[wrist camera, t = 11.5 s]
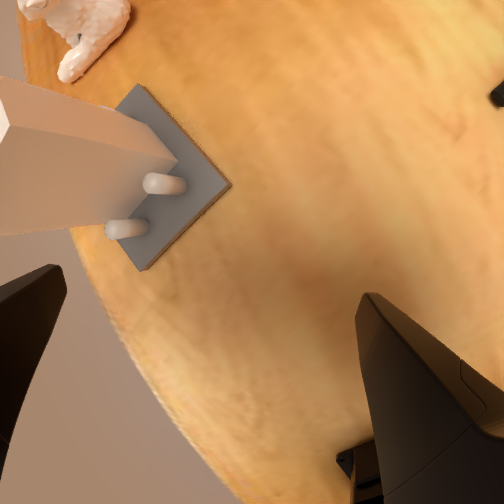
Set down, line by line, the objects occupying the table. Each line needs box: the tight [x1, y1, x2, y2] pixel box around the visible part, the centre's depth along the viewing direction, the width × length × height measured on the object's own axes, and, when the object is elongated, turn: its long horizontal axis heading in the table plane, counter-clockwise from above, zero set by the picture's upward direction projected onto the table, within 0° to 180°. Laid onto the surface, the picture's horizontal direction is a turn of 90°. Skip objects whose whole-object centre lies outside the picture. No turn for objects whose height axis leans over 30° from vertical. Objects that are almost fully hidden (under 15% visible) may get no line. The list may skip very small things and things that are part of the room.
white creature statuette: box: [17, 0, 131, 84], centre depth 15 cm, size 10×9×12 cm
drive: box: [0, 76, 179, 236], centre depth 14 cm, size 4×6×13 cm, turn 131°
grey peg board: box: [100, 83, 232, 272], centre depth 19 cm, size 11×9×4 cm
